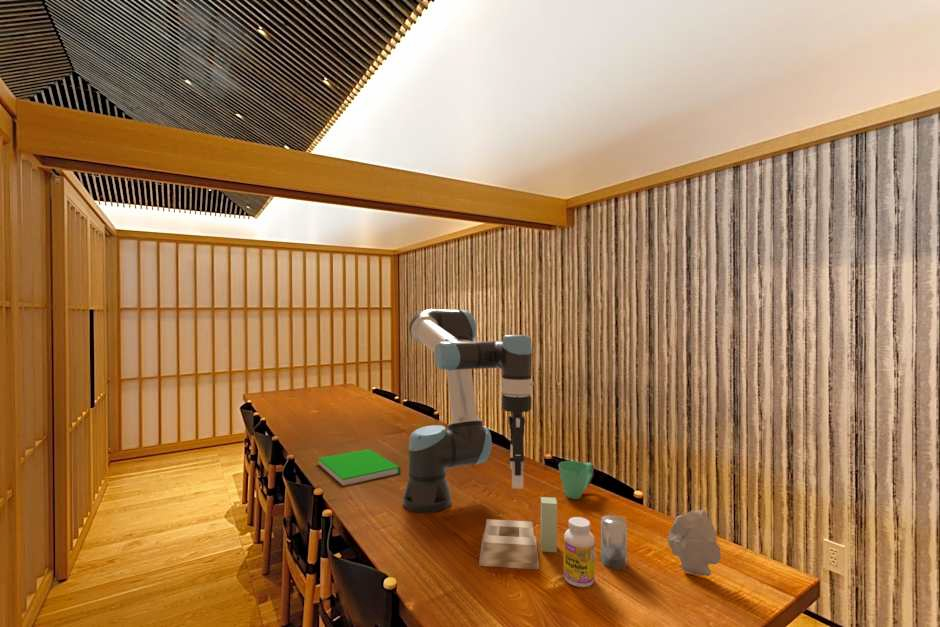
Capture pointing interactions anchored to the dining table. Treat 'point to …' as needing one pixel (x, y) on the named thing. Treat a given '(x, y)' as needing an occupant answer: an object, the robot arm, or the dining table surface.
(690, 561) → the stone tool
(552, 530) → the square peg
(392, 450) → the dining table surface
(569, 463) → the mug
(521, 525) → the socket block
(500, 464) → the dining table surface
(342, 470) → the book
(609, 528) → the clear glass cylinder
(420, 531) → the dining table surface
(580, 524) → the supplement bottle
